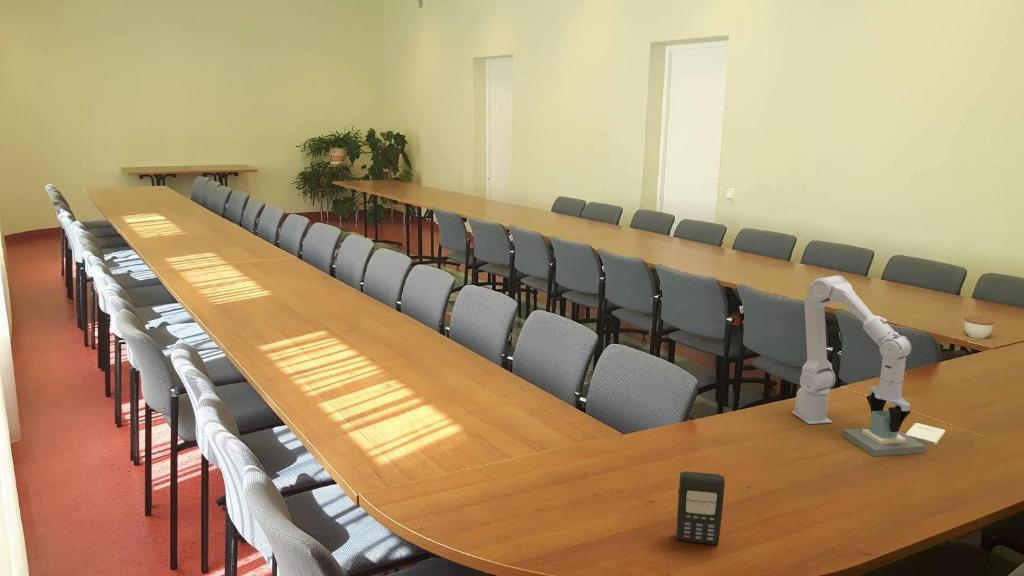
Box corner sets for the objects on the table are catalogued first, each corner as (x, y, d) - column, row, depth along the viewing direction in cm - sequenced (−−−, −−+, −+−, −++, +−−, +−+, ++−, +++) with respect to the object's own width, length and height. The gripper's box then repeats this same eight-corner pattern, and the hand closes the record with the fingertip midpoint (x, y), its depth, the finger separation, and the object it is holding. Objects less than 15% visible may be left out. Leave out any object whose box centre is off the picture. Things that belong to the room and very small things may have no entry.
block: (869, 431, 220) (871, 411, 218) (885, 430, 221) (887, 410, 219) (880, 438, 215) (883, 417, 214) (896, 437, 216) (899, 417, 215)
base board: (842, 435, 224) (843, 426, 223) (891, 432, 227) (892, 423, 226) (873, 456, 210) (874, 446, 210) (925, 452, 213) (926, 442, 213)
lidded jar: (965, 338, 329) (968, 317, 327) (959, 332, 339) (963, 311, 337) (994, 341, 326) (997, 319, 324) (987, 334, 336) (991, 313, 334)
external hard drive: (903, 439, 224) (914, 427, 233) (935, 447, 219) (945, 434, 228) (904, 434, 223) (915, 422, 233) (936, 442, 218) (945, 429, 228)
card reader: (675, 542, 165) (680, 477, 162) (674, 533, 169) (679, 469, 166) (719, 547, 164) (725, 481, 161) (717, 537, 168) (723, 473, 164)
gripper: (861, 372, 221) (856, 417, 224) (896, 389, 207) (889, 437, 210) (883, 371, 222) (877, 415, 225) (919, 388, 208) (912, 435, 211)
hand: (885, 426), depth 217 cm, fingers open, 7 cm apart
